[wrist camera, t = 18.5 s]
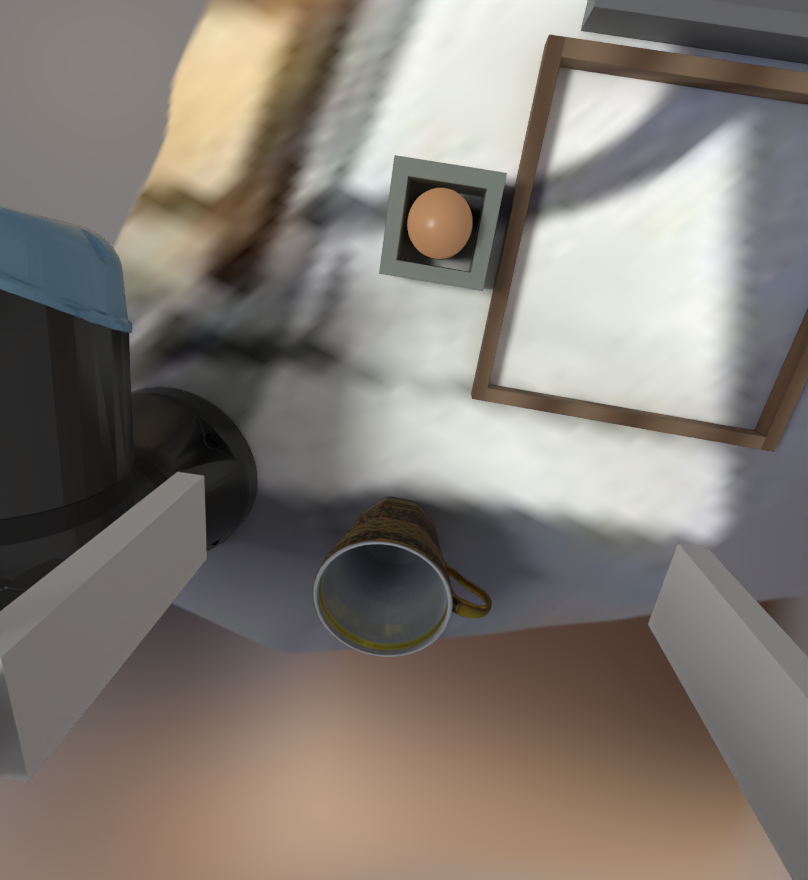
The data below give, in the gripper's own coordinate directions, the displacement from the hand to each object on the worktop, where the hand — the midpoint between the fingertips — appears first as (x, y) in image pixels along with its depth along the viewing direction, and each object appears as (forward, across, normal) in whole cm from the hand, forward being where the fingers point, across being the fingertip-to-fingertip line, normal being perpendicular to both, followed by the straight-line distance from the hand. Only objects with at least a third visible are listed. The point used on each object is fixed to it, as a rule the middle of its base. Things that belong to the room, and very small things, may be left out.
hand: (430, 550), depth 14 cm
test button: (+25, +1, -10) cm, 27 cm away
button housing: (+26, +1, -10) cm, 28 cm away
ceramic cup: (+26, 0, +15) cm, 31 cm away
